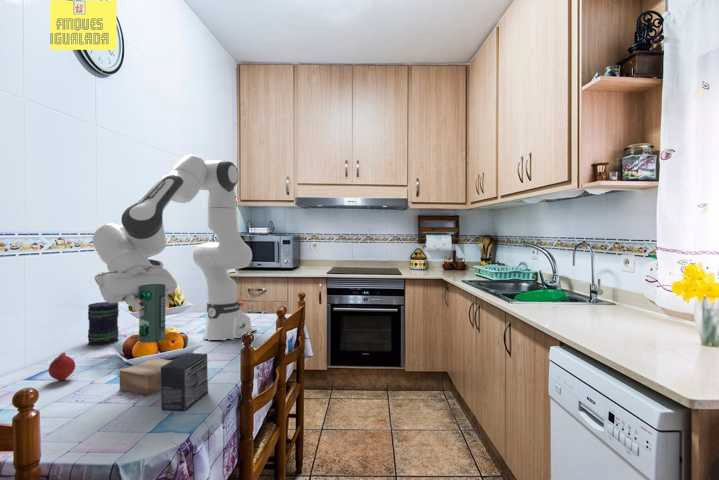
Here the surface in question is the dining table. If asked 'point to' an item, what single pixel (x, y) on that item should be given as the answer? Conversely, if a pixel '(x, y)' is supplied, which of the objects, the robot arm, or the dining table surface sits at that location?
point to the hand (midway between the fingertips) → (154, 307)
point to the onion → (61, 367)
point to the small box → (184, 382)
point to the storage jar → (103, 323)
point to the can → (152, 313)
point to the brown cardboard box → (143, 377)
